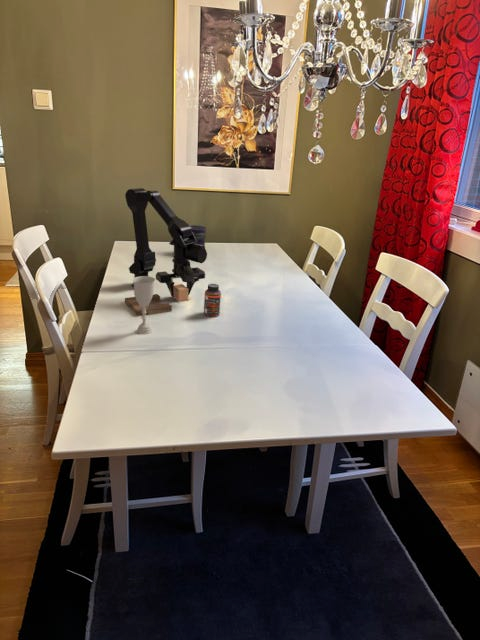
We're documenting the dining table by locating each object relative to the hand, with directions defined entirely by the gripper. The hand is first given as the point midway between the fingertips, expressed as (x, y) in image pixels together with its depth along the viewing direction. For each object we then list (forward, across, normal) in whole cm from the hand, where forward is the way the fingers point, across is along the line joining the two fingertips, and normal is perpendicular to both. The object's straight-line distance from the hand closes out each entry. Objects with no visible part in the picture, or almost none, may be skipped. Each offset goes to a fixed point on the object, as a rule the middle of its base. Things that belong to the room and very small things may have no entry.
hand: (180, 296), depth 193 cm
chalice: (+1, -24, -24) cm, 34 cm away
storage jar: (+1, +33, +54) cm, 63 cm away
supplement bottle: (+1, +4, -19) cm, 19 cm away
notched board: (+1, -15, -4) cm, 16 cm away
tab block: (+1, 0, 0) cm, 1 cm away
